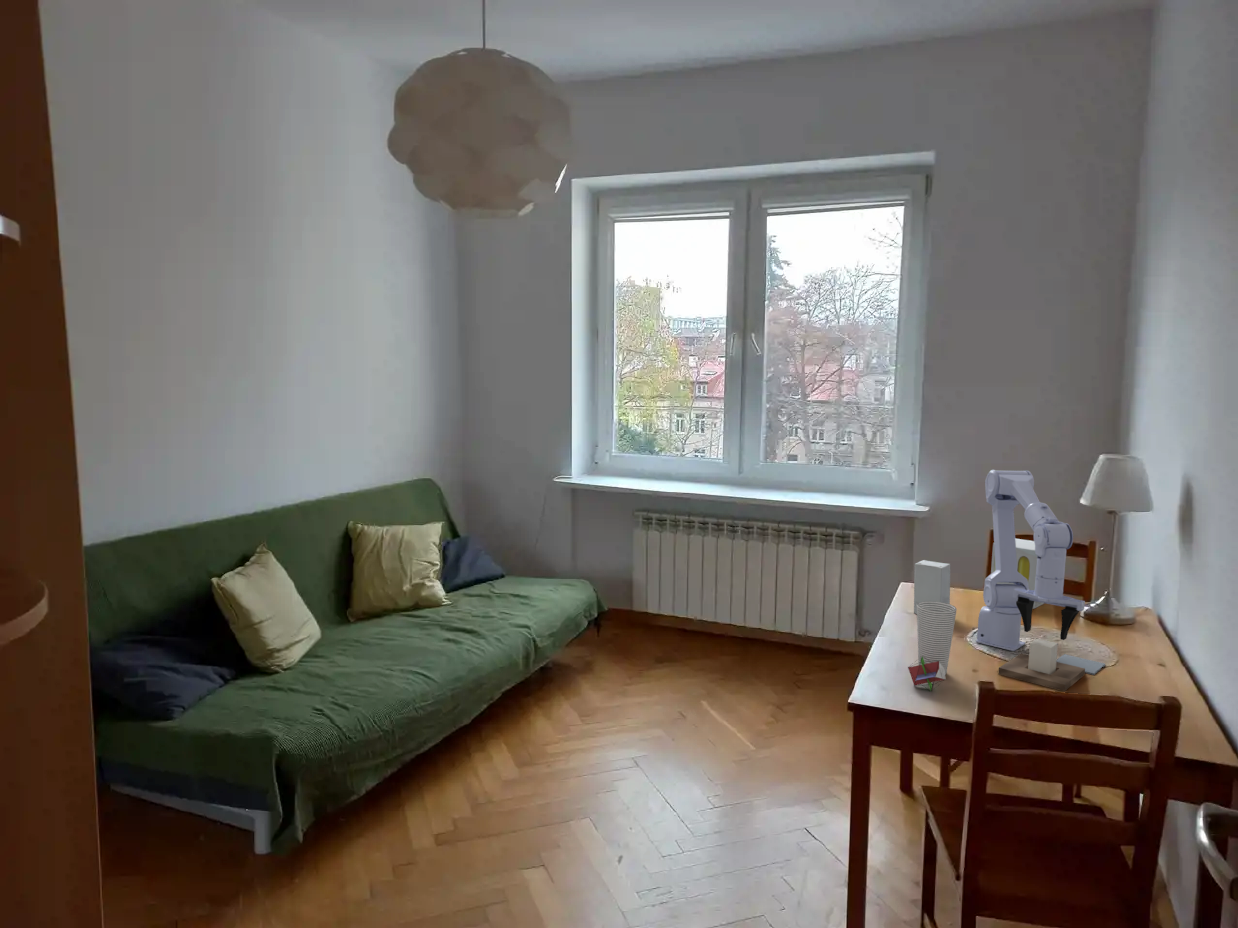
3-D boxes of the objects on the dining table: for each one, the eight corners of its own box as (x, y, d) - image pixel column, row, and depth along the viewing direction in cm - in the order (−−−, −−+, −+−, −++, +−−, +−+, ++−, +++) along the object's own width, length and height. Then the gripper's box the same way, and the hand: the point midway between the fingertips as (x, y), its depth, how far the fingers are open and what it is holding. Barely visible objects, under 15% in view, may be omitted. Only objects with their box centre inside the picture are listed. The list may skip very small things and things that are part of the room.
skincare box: (949, 615, 237) (953, 564, 235) (939, 620, 233) (943, 567, 231) (921, 609, 243) (924, 558, 241) (911, 613, 239) (914, 561, 237)
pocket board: (998, 673, 193) (998, 667, 193) (1020, 659, 203) (1021, 653, 203) (1064, 691, 183) (1065, 684, 183) (1084, 674, 193) (1085, 668, 193)
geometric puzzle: (899, 679, 183) (924, 654, 180) (902, 668, 189) (926, 644, 187) (926, 702, 181) (952, 678, 179) (928, 691, 188) (953, 667, 185)
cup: (931, 681, 188) (936, 613, 186) (904, 668, 196) (908, 603, 194) (960, 675, 191) (965, 609, 190) (932, 663, 199) (937, 599, 197)
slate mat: (1051, 664, 200) (1051, 662, 200) (1064, 655, 206) (1064, 653, 206) (1093, 674, 193) (1093, 673, 193) (1105, 665, 200) (1105, 663, 200)
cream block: (1027, 674, 193) (1030, 642, 192) (1034, 669, 196) (1036, 638, 195) (1048, 679, 190) (1051, 647, 189) (1055, 674, 193) (1057, 643, 192)
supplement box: (987, 599, 254) (991, 542, 252) (1005, 591, 263) (1009, 536, 261) (1034, 609, 244) (1038, 550, 242) (1050, 601, 254) (1054, 543, 252)
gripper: (1009, 573, 192) (1005, 630, 194) (1079, 585, 182) (1074, 646, 184) (1021, 568, 198) (1016, 624, 199) (1089, 579, 188) (1084, 639, 189)
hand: (1045, 634), depth 192 cm, fingers open, 7 cm apart
